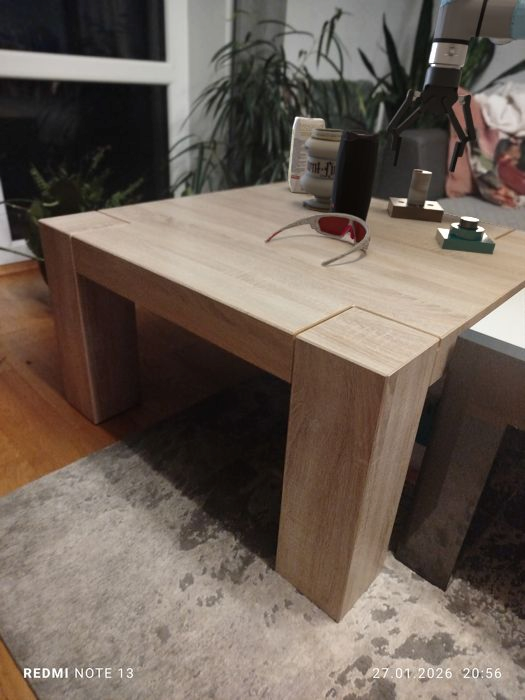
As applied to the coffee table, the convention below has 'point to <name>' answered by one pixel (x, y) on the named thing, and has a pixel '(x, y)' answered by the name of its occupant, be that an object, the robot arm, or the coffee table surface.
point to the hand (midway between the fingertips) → (422, 168)
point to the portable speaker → (355, 173)
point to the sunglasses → (335, 230)
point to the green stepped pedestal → (464, 239)
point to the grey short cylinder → (468, 223)
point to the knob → (419, 187)
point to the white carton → (300, 150)
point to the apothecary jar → (320, 167)
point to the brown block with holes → (415, 210)
